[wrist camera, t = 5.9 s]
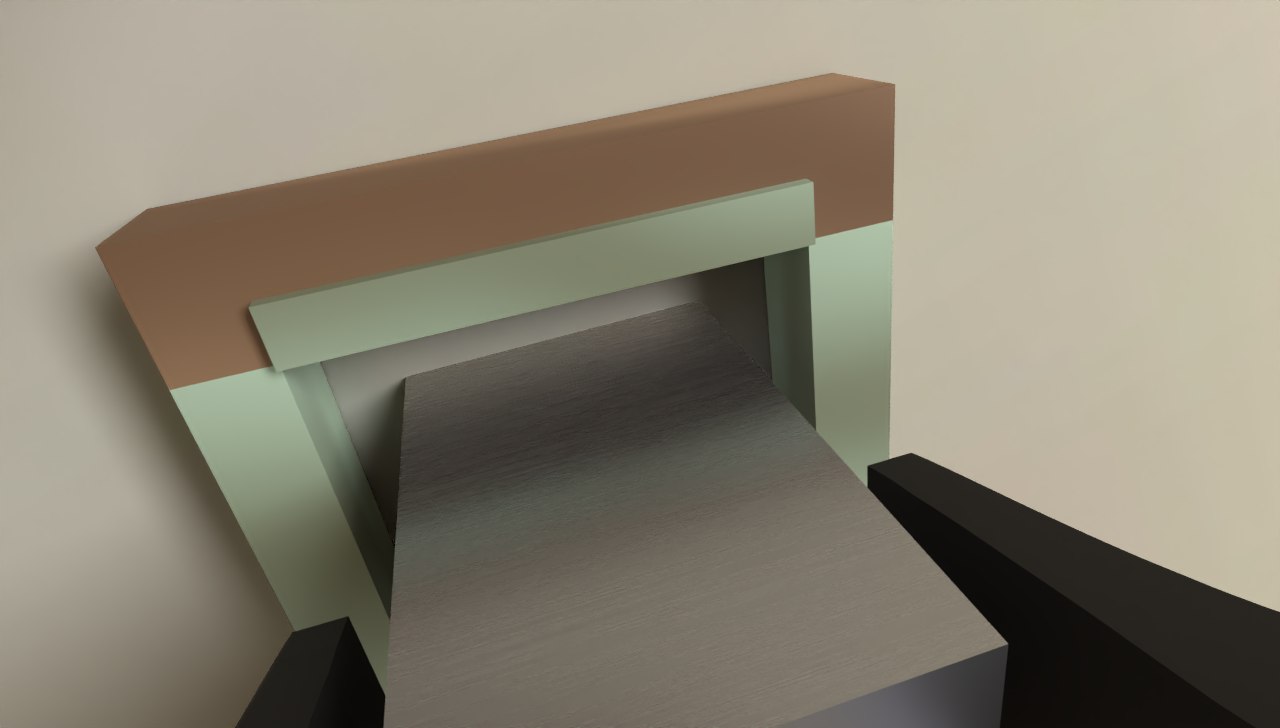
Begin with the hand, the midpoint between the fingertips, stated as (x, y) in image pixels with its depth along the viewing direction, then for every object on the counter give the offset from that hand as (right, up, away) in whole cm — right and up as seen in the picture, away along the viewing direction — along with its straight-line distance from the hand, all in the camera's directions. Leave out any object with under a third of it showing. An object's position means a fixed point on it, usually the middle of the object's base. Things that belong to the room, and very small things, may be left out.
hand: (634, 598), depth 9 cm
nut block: (-1, +1, +3) cm, 4 cm away
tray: (0, -3, +5) cm, 6 cm away
